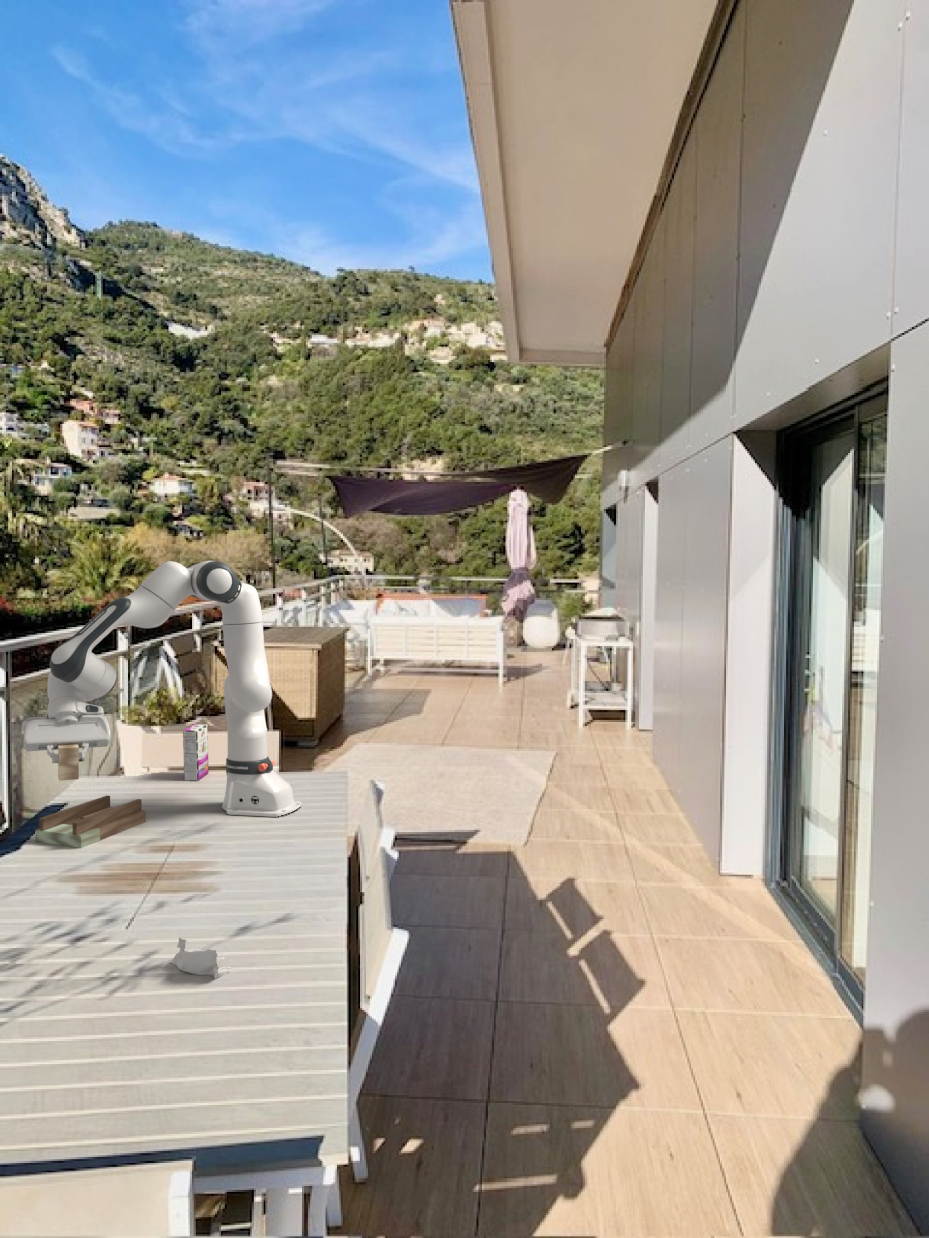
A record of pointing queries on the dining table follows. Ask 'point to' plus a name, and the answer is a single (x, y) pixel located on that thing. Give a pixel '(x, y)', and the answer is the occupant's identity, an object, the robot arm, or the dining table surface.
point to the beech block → (68, 762)
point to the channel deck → (89, 822)
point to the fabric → (198, 961)
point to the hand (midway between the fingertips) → (68, 761)
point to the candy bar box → (195, 752)
